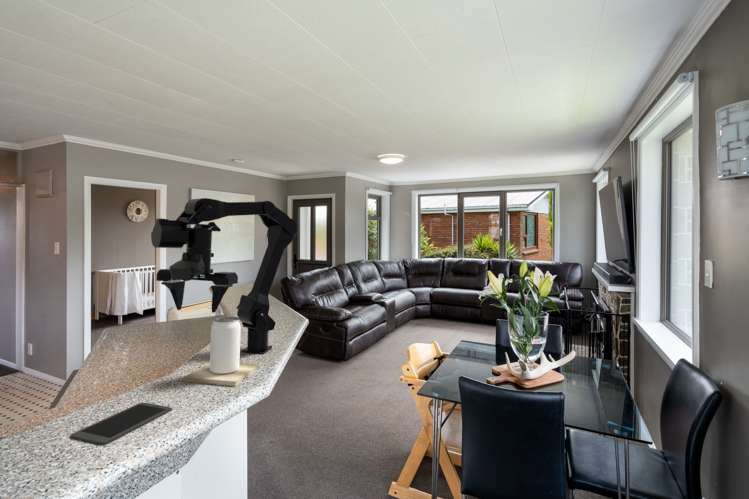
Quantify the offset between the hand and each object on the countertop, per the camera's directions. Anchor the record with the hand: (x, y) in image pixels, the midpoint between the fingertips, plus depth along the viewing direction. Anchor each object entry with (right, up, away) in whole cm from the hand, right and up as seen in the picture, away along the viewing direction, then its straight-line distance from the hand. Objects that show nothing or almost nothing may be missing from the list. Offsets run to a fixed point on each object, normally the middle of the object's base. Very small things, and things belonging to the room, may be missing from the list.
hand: (196, 311), depth 99 cm
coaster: (+9, -14, -7) cm, 18 cm away
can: (+10, -13, -7) cm, 17 cm away
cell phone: (+2, -15, -32) cm, 35 cm away
